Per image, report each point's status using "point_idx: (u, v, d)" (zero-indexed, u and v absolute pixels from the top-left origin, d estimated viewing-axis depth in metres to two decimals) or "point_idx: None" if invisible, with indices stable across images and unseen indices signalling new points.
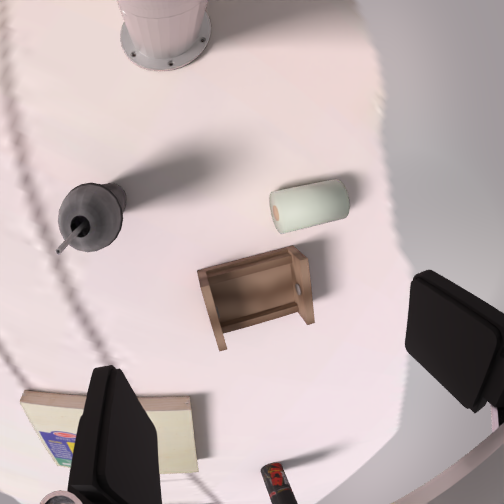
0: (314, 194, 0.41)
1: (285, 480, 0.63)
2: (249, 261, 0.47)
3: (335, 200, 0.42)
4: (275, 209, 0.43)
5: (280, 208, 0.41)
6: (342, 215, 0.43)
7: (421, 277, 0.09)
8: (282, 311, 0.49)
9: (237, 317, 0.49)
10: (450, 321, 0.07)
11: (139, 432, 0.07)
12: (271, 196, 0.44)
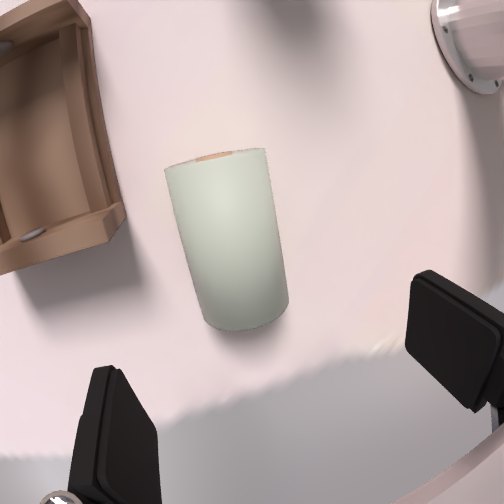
0: (271, 241, 0.18)
1: None
2: (94, 114, 0.17)
3: (260, 294, 0.18)
4: (224, 153, 0.17)
5: (238, 155, 0.16)
6: (220, 317, 0.19)
7: (421, 277, 0.09)
8: None
9: None
10: (450, 321, 0.07)
11: (139, 432, 0.07)
12: (246, 149, 0.19)
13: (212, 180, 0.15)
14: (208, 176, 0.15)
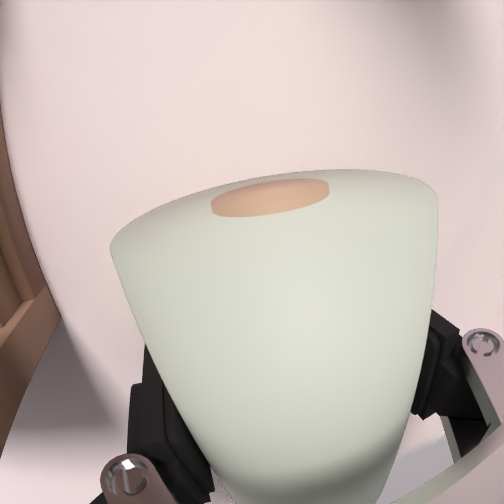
0: (408, 416, 0.06)
1: None
2: None
3: (363, 500, 0.06)
4: (305, 186, 0.06)
5: (386, 208, 0.04)
6: None
7: None
8: None
9: None
10: None
11: None
12: (340, 173, 0.07)
13: (312, 337, 0.03)
14: (296, 323, 0.03)
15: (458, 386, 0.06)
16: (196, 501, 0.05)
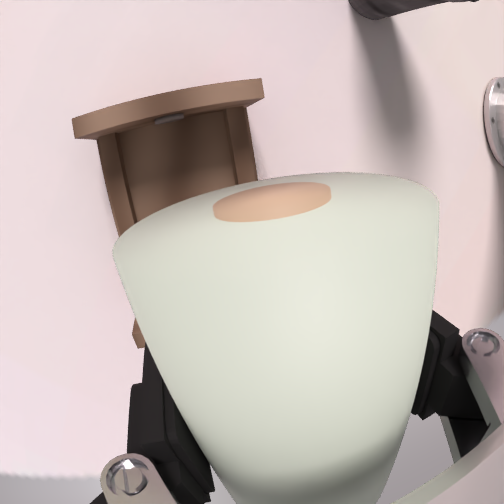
0: (408, 418, 0.06)
1: None
2: None
3: (364, 501, 0.06)
4: (307, 191, 0.06)
5: (388, 214, 0.04)
6: None
7: None
8: None
9: (128, 172, 0.20)
10: None
11: None
12: (342, 176, 0.07)
13: (315, 343, 0.03)
14: (299, 329, 0.03)
15: (458, 386, 0.06)
16: (196, 501, 0.05)
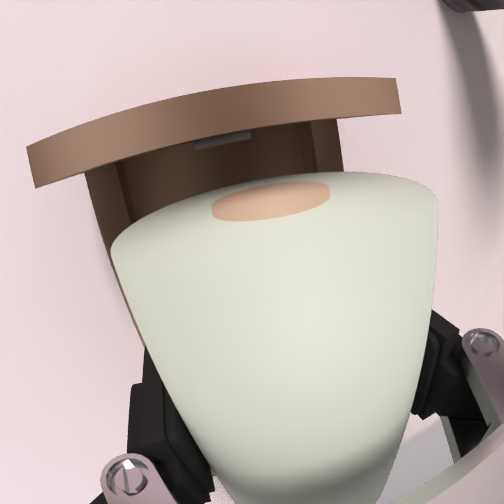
0: None
1: None
2: None
3: (363, 501, 0.06)
4: (306, 190, 0.06)
5: (387, 213, 0.04)
6: None
7: None
8: None
9: None
10: None
11: None
12: (341, 175, 0.07)
13: (312, 342, 0.03)
14: (297, 328, 0.03)
15: (458, 386, 0.06)
16: (196, 501, 0.05)
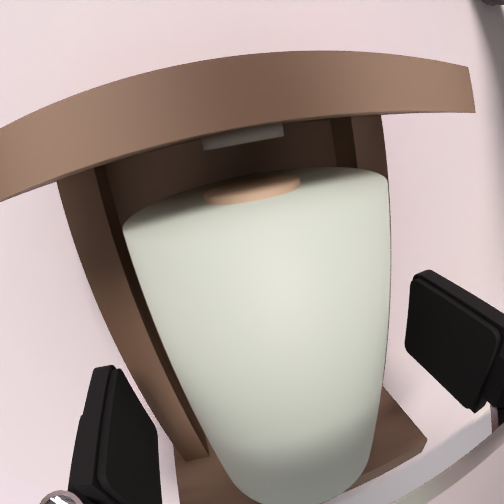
0: (378, 386, 0.07)
1: None
2: None
3: (342, 470, 0.07)
4: (280, 181, 0.07)
5: (337, 196, 0.05)
6: (263, 496, 0.08)
7: (421, 277, 0.09)
8: (185, 425, 0.11)
9: None
10: (450, 321, 0.07)
11: (139, 432, 0.07)
12: (318, 169, 0.08)
13: (268, 290, 0.05)
14: (255, 277, 0.05)
15: None
16: None
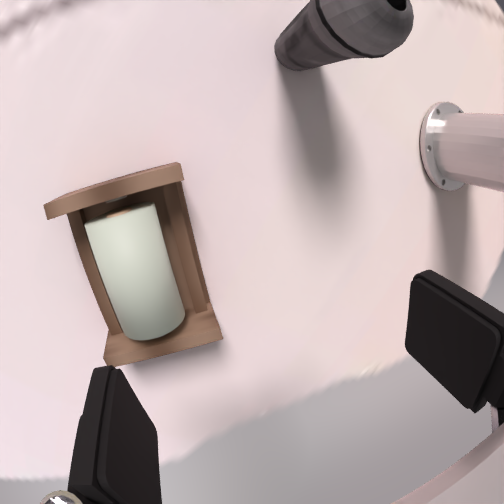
0: (157, 276, 0.23)
1: None
2: (192, 247, 0.29)
3: (152, 314, 0.23)
4: (124, 210, 0.23)
5: (127, 215, 0.21)
6: (128, 329, 0.24)
7: (421, 277, 0.09)
8: (110, 309, 0.27)
9: None
10: (450, 321, 0.07)
11: (139, 432, 0.07)
12: (145, 203, 0.24)
13: (108, 235, 0.21)
14: (105, 233, 0.21)
15: None
16: None
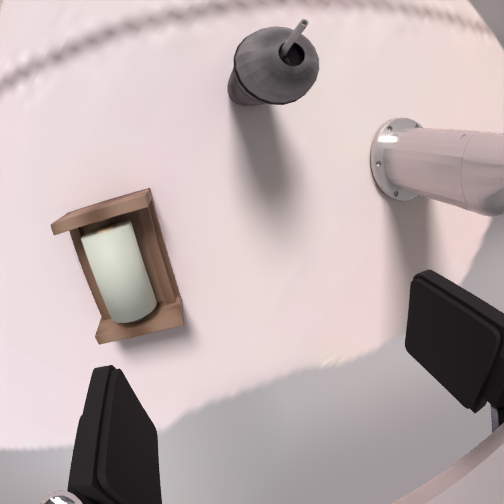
0: (132, 275, 0.31)
1: None
2: (163, 253, 0.37)
3: (129, 303, 0.31)
4: (109, 227, 0.31)
5: (110, 232, 0.29)
6: (113, 315, 0.32)
7: (421, 277, 0.09)
8: (102, 300, 0.35)
9: None
10: (450, 321, 0.07)
11: (139, 432, 0.07)
12: (125, 221, 0.33)
13: (97, 247, 0.29)
14: (95, 245, 0.29)
15: None
16: None
